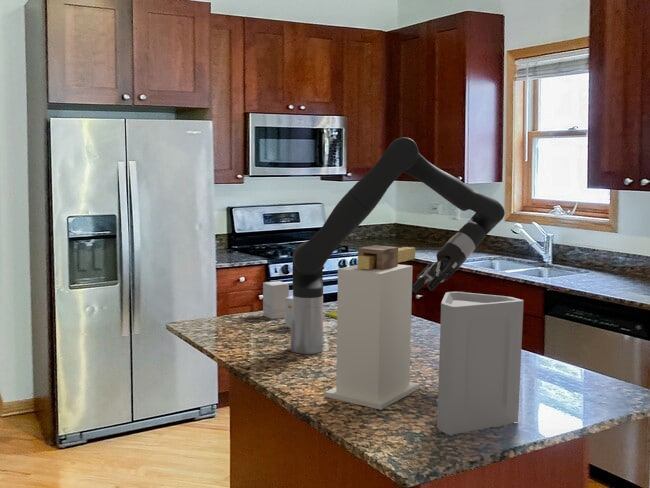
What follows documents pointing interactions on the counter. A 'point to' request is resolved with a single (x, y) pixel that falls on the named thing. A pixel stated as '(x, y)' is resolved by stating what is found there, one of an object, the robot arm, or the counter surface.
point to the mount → (374, 331)
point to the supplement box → (274, 299)
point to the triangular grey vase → (479, 361)
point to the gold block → (371, 259)
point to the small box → (288, 311)
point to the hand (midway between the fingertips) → (421, 289)
